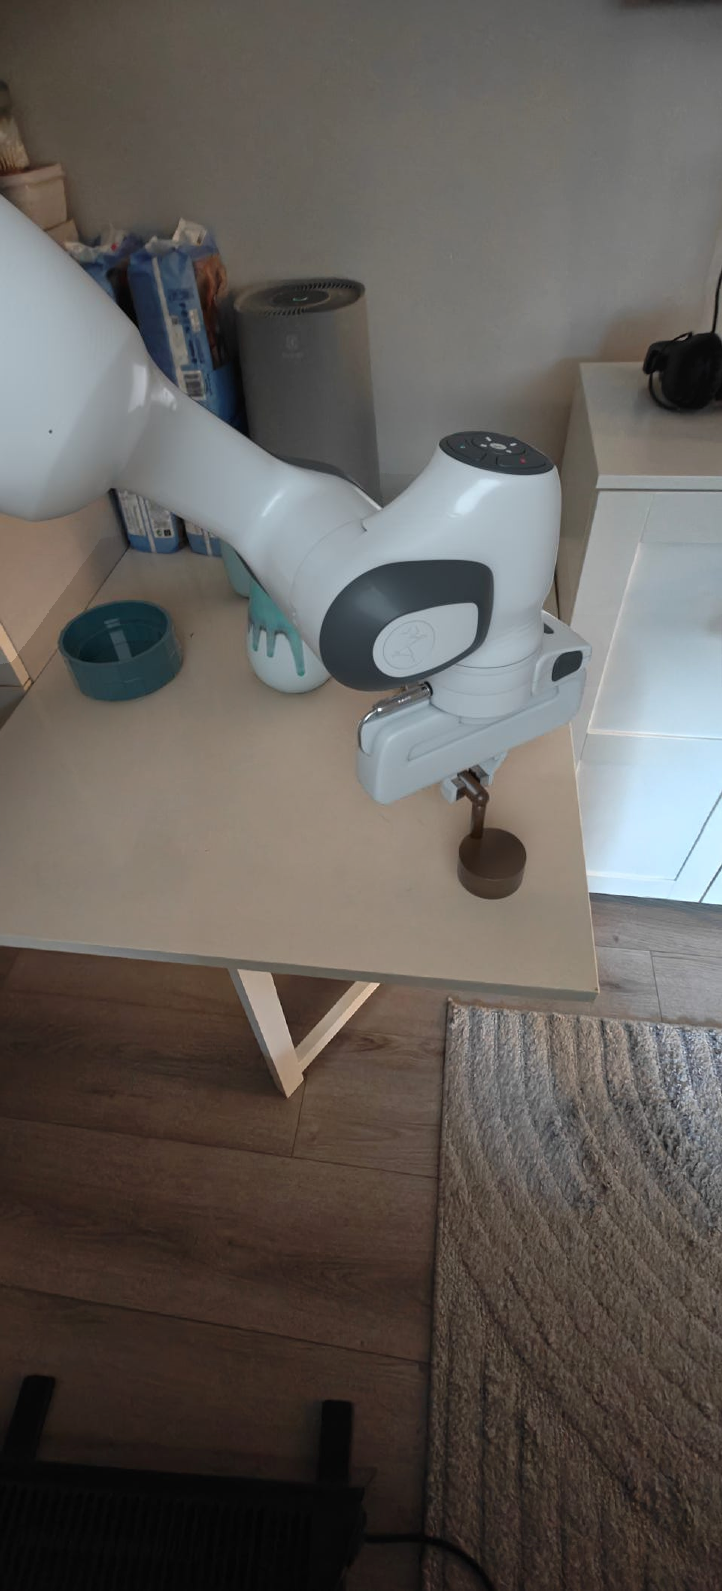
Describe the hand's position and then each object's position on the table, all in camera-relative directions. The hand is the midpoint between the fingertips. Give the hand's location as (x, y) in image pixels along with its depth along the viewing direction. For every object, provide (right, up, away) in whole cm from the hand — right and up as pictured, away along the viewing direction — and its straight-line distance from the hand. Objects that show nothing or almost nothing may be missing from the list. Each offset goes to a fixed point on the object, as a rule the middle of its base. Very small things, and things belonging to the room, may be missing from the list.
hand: (466, 789), depth 65 cm
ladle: (-1, -4, +6) cm, 7 cm away
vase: (-17, +15, +29) cm, 37 cm away
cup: (-25, +30, +43) cm, 58 cm away
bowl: (-40, +16, +32) cm, 54 cm away
